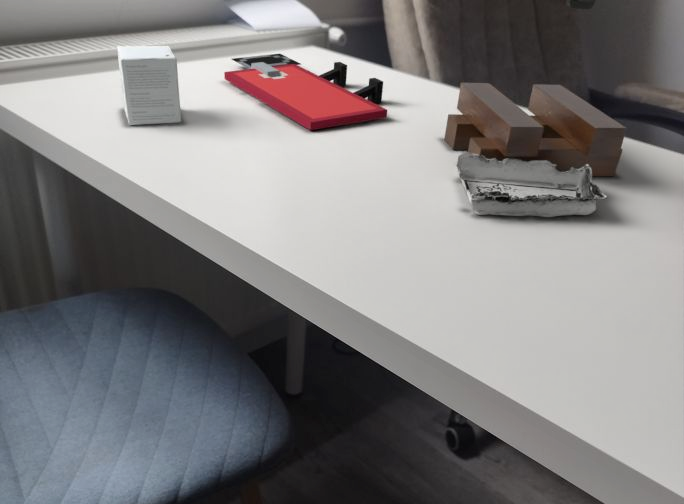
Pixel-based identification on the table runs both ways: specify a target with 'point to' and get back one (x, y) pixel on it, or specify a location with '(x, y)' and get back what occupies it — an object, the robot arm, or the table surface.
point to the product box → (149, 84)
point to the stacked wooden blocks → (536, 128)
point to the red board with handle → (307, 91)
